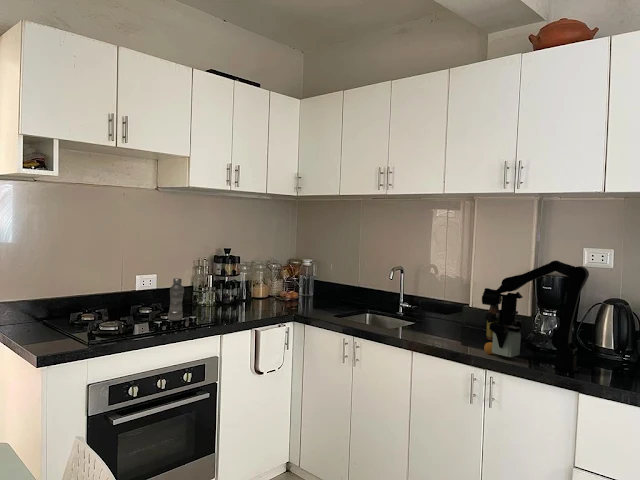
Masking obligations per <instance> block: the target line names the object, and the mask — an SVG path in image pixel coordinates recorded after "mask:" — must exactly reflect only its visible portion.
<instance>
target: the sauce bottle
mask: <svg viewBox="0 0 640 480" xmlns="http://www.w3.org/2000/svg"><path fill="white" fill-rule="evenodd" d="M499 305H500V304H498V306H491V305H489V309H488V310H487V313H489V312H492V313H493V314H497V313H498V310H500V309H499V307H500V306H499ZM496 322H497V321H496ZM491 323H492V322H491ZM491 323H488V321H487V320H486V339H487V340H488V341H490V342H493V333H494V332H493V331H492V330H490V329H489V325H490V324H491Z"/></svg>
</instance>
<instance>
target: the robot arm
mask: <svg viewBox="0 0 640 480" xmlns="http://www.w3.org/2000/svg"><path fill="white" fill-rule="evenodd" d="M554 272H556V273H559V274H560V275H563V276H566V277H568V279H567V280H568V282H567V283H568V292H567V296H566V300H565V303H564V307H563V311H562V315H561V319H560V322H559V326H556V327H554V328H552V335H551V337H550V338H549V339H550V340H551V344H552V346H553V348H554V349H555V350H556V355H554V365H553V366H554V367H553V370H557V371H561V372H565V373H570V374H573V373H575V372H577V371H578V368H577V354H576V353H577V351H578V347H577V346H576V345H575V343H574V342H572V341H573V328H572V327H573V323H574V318H575V314H576V311H577V308H578V307H577V306H578V303H579V299H580V296H581V291H582V289H583V288H584V286H585V284H586V282H587V280H588V278H589V276H590V272H589V270H588V269H587V268H586V267H584V266H579V265H578V266H574V265H571V264H569V263H565V262H561V261H560V260H552V261H550V262H548V263H545V264H543V265H541V266H539V267H536V268H534V269H532V270H529V271H527V272H524V273H523V274H517V275H513V276H509V277H508V276H507V277H505V278H503V279H502V280H501V285H500V286H499V287H498V288H497V289H491V288H487V287H486V288H484V291H483V293H482V296H481V303H482V305H484V306H485V305H486V306H490V305H491V306H498V304H499V305H501V307H500V309H499V310H498V313H497V314H493V313H492V312H489V313H488V312H486V313H485V318H484V319H485V320H486V322H487V321H488V323H491V322H492V323H491V324H490V325H489V329H490V330H492V331H493V332H494V333H495V334H496V336H497V340H498V344H499V347H500V348H502V347H503V345H504V343H505V340H506V338H507V335H508V333H509V332H507V331H513V332H518V333H520V334H521V332H522V330H523V329H525V322H524V321H523V320H520V319H516V317H517V315H518V314H519V310H517V305H518V304H517V303H518V299H519V300H520V299H523V297H524V296H522V294H521V293H520V291H517V290H519V289H520V288H522V287H524V286H525V285H526V284H528V283H529V282H532V281H534V280H537V279H539V278H543V277H544V276H547V275H550V274H552V273H554ZM515 291H517V292H516V293H513V292H515ZM504 293H507V294H504ZM496 321H497V322H496Z"/></svg>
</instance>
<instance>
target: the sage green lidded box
mask: <svg viewBox="0 0 640 480" xmlns="http://www.w3.org/2000/svg"><path fill="white" fill-rule="evenodd" d="M507 332H509V333H508V335H507V338H506V340H505V343H504V345H503V347H502V348H500V347H499V344H498V340H497V336H496V334H495V333H493V341H491V342H492V353H494V355H495V354H496V355H500V356H503V357H507V358H513V357H516V356H520V353H521V352H520V350H521V339H522V336H521V335H522V334H521V332H520V333H518V332H513V331H507Z"/></svg>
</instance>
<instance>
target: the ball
mask: <svg viewBox="0 0 640 480" xmlns="http://www.w3.org/2000/svg"><path fill="white" fill-rule="evenodd" d="M492 342H493V341H489V342H486V343H484V347H483V349H484V352H485V353H486V354H488V355H495V353H492Z"/></svg>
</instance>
